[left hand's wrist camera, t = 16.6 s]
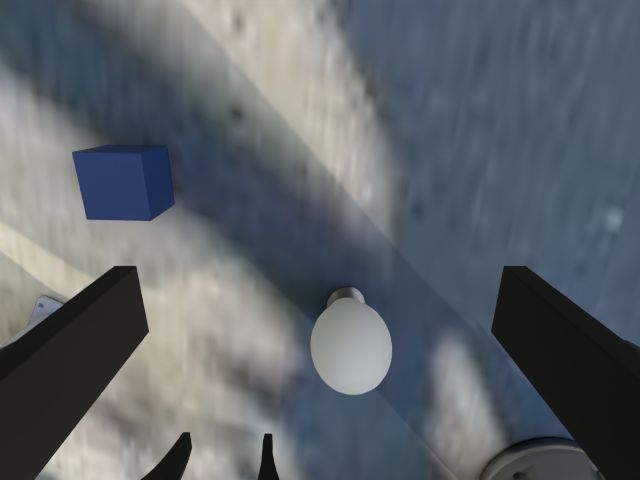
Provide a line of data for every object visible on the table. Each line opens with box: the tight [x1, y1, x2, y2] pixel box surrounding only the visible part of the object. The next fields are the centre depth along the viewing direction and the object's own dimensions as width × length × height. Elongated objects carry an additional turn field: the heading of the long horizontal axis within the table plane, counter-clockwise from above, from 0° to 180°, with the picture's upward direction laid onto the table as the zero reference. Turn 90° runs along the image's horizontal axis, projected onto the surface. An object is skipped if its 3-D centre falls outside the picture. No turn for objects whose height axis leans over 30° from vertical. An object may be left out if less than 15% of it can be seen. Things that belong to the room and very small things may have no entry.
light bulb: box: [310, 287, 392, 395], centre depth 31 cm, size 7×7×11 cm
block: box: [72, 145, 174, 221], centre depth 29 cm, size 5×5×5 cm
